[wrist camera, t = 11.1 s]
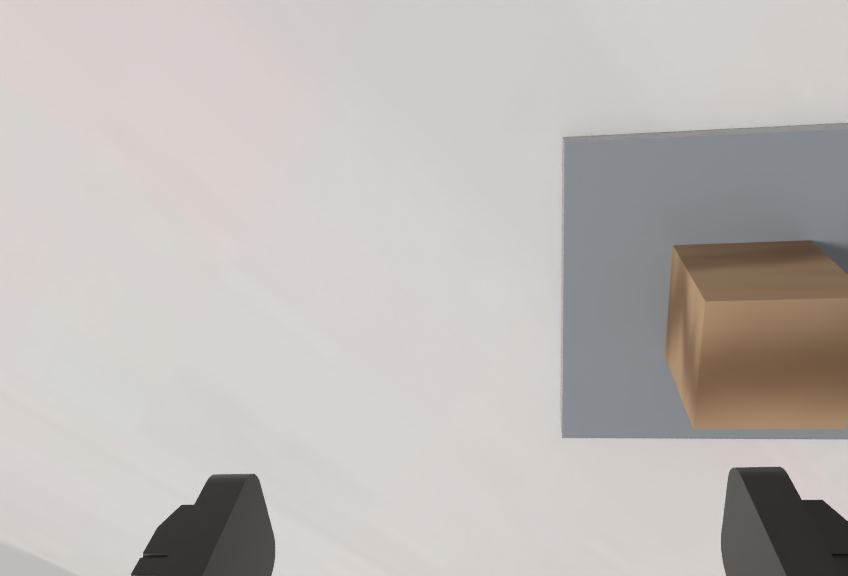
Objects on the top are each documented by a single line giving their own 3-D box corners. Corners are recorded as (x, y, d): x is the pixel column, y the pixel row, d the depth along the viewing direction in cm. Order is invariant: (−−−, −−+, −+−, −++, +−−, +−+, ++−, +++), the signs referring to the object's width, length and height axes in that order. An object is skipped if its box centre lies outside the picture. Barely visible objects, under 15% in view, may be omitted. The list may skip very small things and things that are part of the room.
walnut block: (672, 245, 32) (705, 301, 27) (810, 240, 32) (872, 297, 26) (664, 357, 35) (693, 429, 29) (792, 355, 34) (845, 429, 29)
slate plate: (562, 137, 32) (564, 142, 31) (944, 118, 30) (958, 122, 29) (560, 426, 38) (562, 437, 38) (873, 427, 36) (882, 439, 35)
